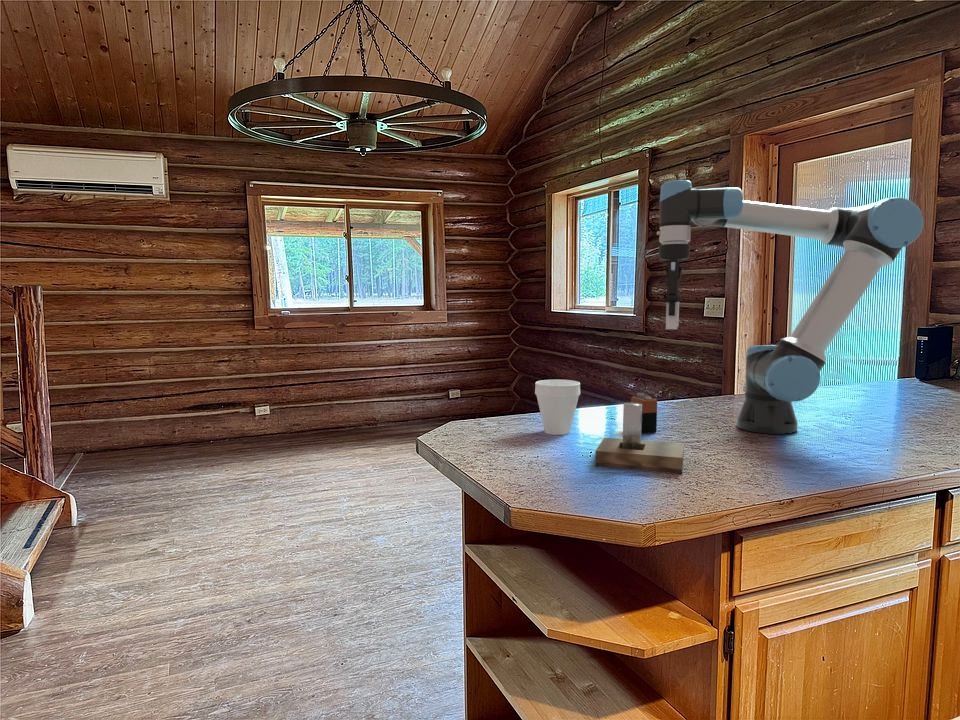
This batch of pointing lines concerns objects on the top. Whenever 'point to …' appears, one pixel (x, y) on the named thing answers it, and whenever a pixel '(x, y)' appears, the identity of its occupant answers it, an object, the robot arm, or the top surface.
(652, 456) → the bore block
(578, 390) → the cup
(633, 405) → the pin
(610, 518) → the top surface
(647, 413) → the battery
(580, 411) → the top surface
